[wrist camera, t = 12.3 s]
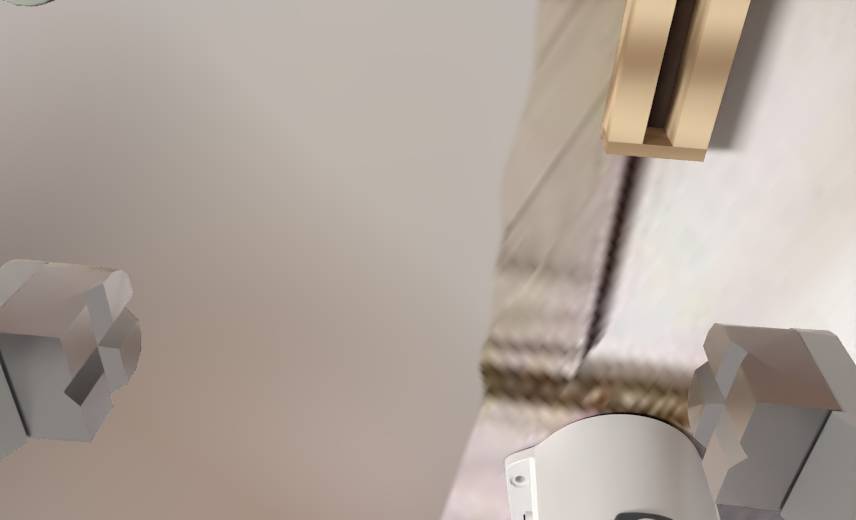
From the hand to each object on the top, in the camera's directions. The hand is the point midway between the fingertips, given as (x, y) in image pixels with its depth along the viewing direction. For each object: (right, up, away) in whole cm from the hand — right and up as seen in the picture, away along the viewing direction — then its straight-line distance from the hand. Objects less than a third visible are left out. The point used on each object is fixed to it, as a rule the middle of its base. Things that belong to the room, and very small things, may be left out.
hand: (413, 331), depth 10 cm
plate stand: (+14, +13, +32) cm, 38 cm away
